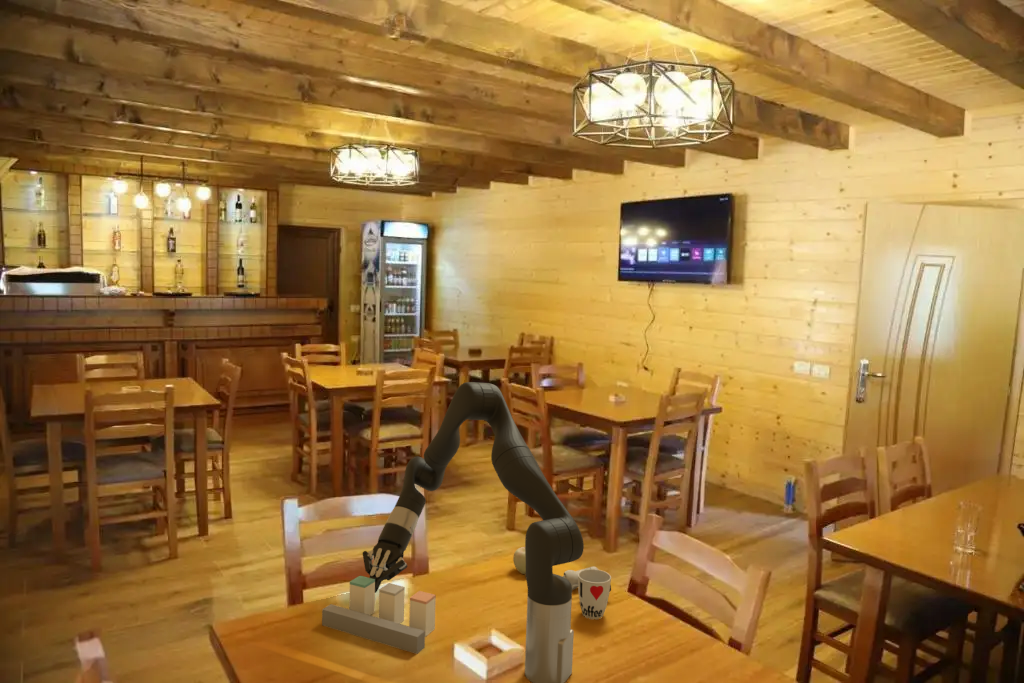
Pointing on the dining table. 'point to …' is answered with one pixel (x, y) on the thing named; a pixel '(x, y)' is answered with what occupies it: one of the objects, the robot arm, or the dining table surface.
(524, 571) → the fruit
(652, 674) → the dining table surface
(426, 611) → the beige and orange block
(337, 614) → the grey base
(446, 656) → the dining table surface
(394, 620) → the beige tall block
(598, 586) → the cup
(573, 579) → the clip-on lamp
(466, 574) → the dining table surface
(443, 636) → the dining table surface
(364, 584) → the beige and green block
